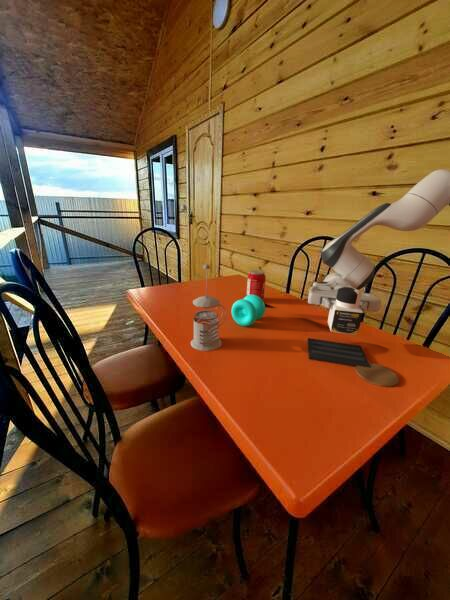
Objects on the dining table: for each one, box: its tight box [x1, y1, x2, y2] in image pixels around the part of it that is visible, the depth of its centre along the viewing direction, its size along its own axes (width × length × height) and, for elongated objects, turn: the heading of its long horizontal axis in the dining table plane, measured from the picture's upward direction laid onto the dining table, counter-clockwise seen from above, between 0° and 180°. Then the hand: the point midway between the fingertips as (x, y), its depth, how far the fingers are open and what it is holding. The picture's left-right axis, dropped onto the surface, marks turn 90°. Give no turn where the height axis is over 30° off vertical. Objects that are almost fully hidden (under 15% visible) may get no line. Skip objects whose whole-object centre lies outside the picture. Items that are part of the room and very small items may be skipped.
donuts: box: [230, 295, 266, 327], centre depth 94 cm, size 10×10×10 cm
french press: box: [190, 263, 227, 352], centre depth 76 cm, size 10×12×25 cm
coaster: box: [354, 362, 400, 388], centre depth 67 cm, size 10×10×1 cm
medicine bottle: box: [327, 287, 364, 336], centre depth 72 cm, size 7×7×12 cm
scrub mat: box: [307, 337, 371, 368], centre depth 76 cm, size 16×12×1 cm
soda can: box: [245, 269, 267, 303], centre depth 112 cm, size 8×8×15 cm
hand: (346, 308), depth 71 cm, fingers closed on medicine bottle, 7 cm apart
